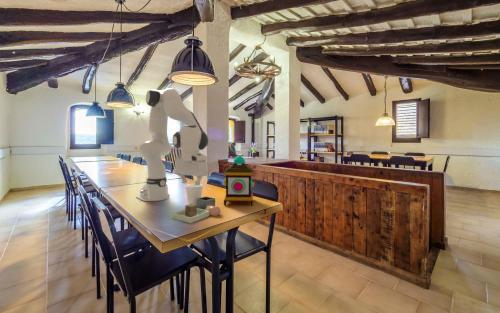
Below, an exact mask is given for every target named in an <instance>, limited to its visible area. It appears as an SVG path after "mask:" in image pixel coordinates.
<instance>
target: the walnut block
mask: <svg viewBox="0 0 500 313" xmlns="http://www.w3.org/2000/svg"><path fill="white" fill-rule="evenodd" d="M184 209H185V216H186V217H190V218H191V217H193V216H196V215H197V205H195V204H189V203H188V204H186V205H184Z"/></svg>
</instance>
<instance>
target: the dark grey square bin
mask: <svg viewBox="0 0 500 313" xmlns="http://www.w3.org/2000/svg"><path fill="white" fill-rule="evenodd" d="M208 205H211V206H215V207H216V198H215V197H210V196H203V197H202V196H201V198H198V199H197V208H198V209H202V210H206V207H207V206H208Z"/></svg>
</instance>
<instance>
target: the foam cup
mask: <svg viewBox="0 0 500 313" xmlns="http://www.w3.org/2000/svg"><path fill="white" fill-rule="evenodd" d="M185 188H186V189H185V190H186V195H187V203H188V205H189V204H195V205H197V199H198V198H202V194H203V184H202V183H200V185H196V183H190V184H186V186H185Z"/></svg>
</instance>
